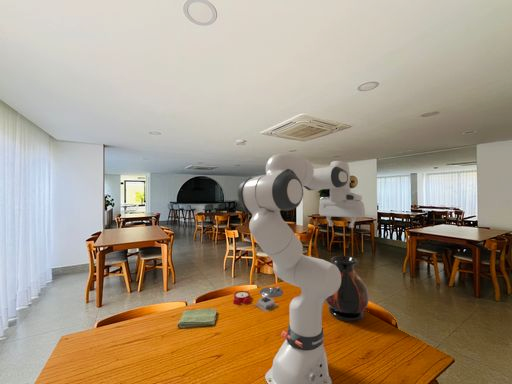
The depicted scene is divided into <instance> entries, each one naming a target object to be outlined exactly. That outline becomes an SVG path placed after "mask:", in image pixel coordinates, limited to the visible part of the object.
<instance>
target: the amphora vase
mask: <svg viewBox="0 0 512 384" xmlns="http://www.w3.org/2000/svg"><path fill="white" fill-rule="evenodd" d="M330 261H331V263H332V264H334V265H336V266H337V267H338V269H339V271H340V274H341V285H340V288H339V289H338V291H337V292H336V293H335V294H333V295H331V296H329V297H328V298H327V299H326V300H325V302H326V304H327V305H328V312H329V313H330V315H331V316H333V318H335V319H338V320H340V321H344V322H347V323H349V322H350V323H354V322H359V321H361V320H362V319H363V318H364V311H365V310H366V308H367V307H368V304H369V300H370V299H369V292H368V287H367V285H366V284H365V281H364V280H363V279H362V278H361V277H360V275H358V274H357V272H356V270H355V269H354V266H355V265H357V264H358V263H359V261H358V260H357V259H356V258H354V257H351V256H346V255H345V256H344V255H343V256H342V255H337V256H336V255H335V256H333V257H331V259H330Z"/></svg>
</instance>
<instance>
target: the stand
mask: <svg viewBox="0 0 512 384" xmlns="http://www.w3.org/2000/svg"><path fill="white" fill-rule="evenodd" d="M253 306H254V307H255V308H257V309H259V310H261V311H262V312H264V313H267V312H269V311H271V310H273V309H275V308H277V307H279V305H278V304H276V303H274V306H273V307H270V308H268V309H266V310H265V309H264V308H262V307H260V306H258V302H257V303H255V304H253Z"/></svg>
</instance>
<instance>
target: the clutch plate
mask: <svg viewBox="0 0 512 384" xmlns="http://www.w3.org/2000/svg"><path fill="white" fill-rule="evenodd" d="M257 303H258V306H260V307H262V308H264V309H265V310H266V309H268V308H270V307H273V306H274V304H275V299H273V298H269V297H267V296H265V297H264V296H262V297H260V298H259V299H257Z"/></svg>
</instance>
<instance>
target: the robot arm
mask: <svg viewBox="0 0 512 384" xmlns="http://www.w3.org/2000/svg"><path fill="white" fill-rule="evenodd" d="M313 165H314V164H313V163H312V162H311V161H310V160H309V159H307V158H306V157H303V156H301V155H296V154H290V153H277V154H274V155H272V156H271V157H269V159H268V160H267V162H266V164H265V174H263V175H258V176H256V177H249V178H247V179H245V180H244V181H242V182H241V183H240V184H239V186H238V189H237V197H238V200H239V203H240V205H241V206H242V208H243V210H244V212H245V213H246V214H247V215H248V216H250V217H251V218H250V220H249V225H248V228H249V231H250V234H251V235H252V237H253V239H254V240H255V242H256V243H257V246H259V248H260V249H261V250H262V251H263V252H264V253H265V255H266V256H268V258H269V259H270V260H271V261H272V262H273V263H272V268H273V273H274V275H275V276H276V277H277V278H279V279H280V280H281V281H283V282H285V283H287V284H289V285H292V286H295V287H298V288H300V291H301V292H300V295H298V296H294V297H293V299H292V300H291V301H290V303H289V309H288V311H289V324H288V327H287V331H285V330H282V331H281V334H280V337H282V338H283V339H284V342H283V343H282V344H281V347H280V348H279V350H278V352H277V353H276V355H275V356H274V357H273V361H272V366H271V368H270V369H269V370H268V371H267V372H266V373H265V375H264V379H266V380H265V382H266V381H267V383H268V384H325V383H326V384H333V381H332V379H331V377H330V375H329V374H330V373H329V366H328V357H327V353H326V349H325V347H324V338H325V337H324V336H325V334H324V329H323V326H322V324H323V321H322V320H323V319H322V318H323V317H322V316H323V307H324V304H325V302H326V301H325V300H326V299H327V298H328V297H329V296H331V295H333V294H335V293H336V292H337V291H338V289H339V288H340V285H341V274H340V271H339V269H338V267H337V266H336V265H335V263H333V262H330V261H327V260H325V259H322V258H318V257H313V256H309V255H305V254H303V246H304V245H303V243H302V242H301V240H300V239H299V238H298V236H297V235H296V234H295V232H294V230H292V228H291V226H289V224H288V223H286V221H285V220H284V219H283V217H282V215H281V211H284V212H286V211H287V212H288V211H290V210H291V211H292V210H294V209H296V208H298V207H299V206H300V204H301V202H302V201H303V197H304V188H305V189H306V190H307V191H315V190H316V191H317V190H329V196H322V197H321V198H320V199H319V206H318V207H319V208H318V209H319V210H318V214H319V215H320V217H326V220H327V222H328V226H329V227H333V226H334V222H333V221H332V217H333V218H334V217H335V218H336V217H338V218H350V220H351V221H350V223H348V228H350V229H354V227H355V222H356V221H357V218H358V219H361V218H364V217H365V216H366V207H365V205H364V202H363V201H362V200H363V196H362V195H360V194H358V193H357V194H356V193H354V192H353V193H352V192H351V187H350V182H351V174H350V167H349V163H348V162H347V161H345V160H334V161H331V162H330V165H329V166H324V167H318V168H317V167H316V168H314V166H313ZM269 381H271V382H269ZM267 383H266V384H267Z"/></svg>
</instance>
